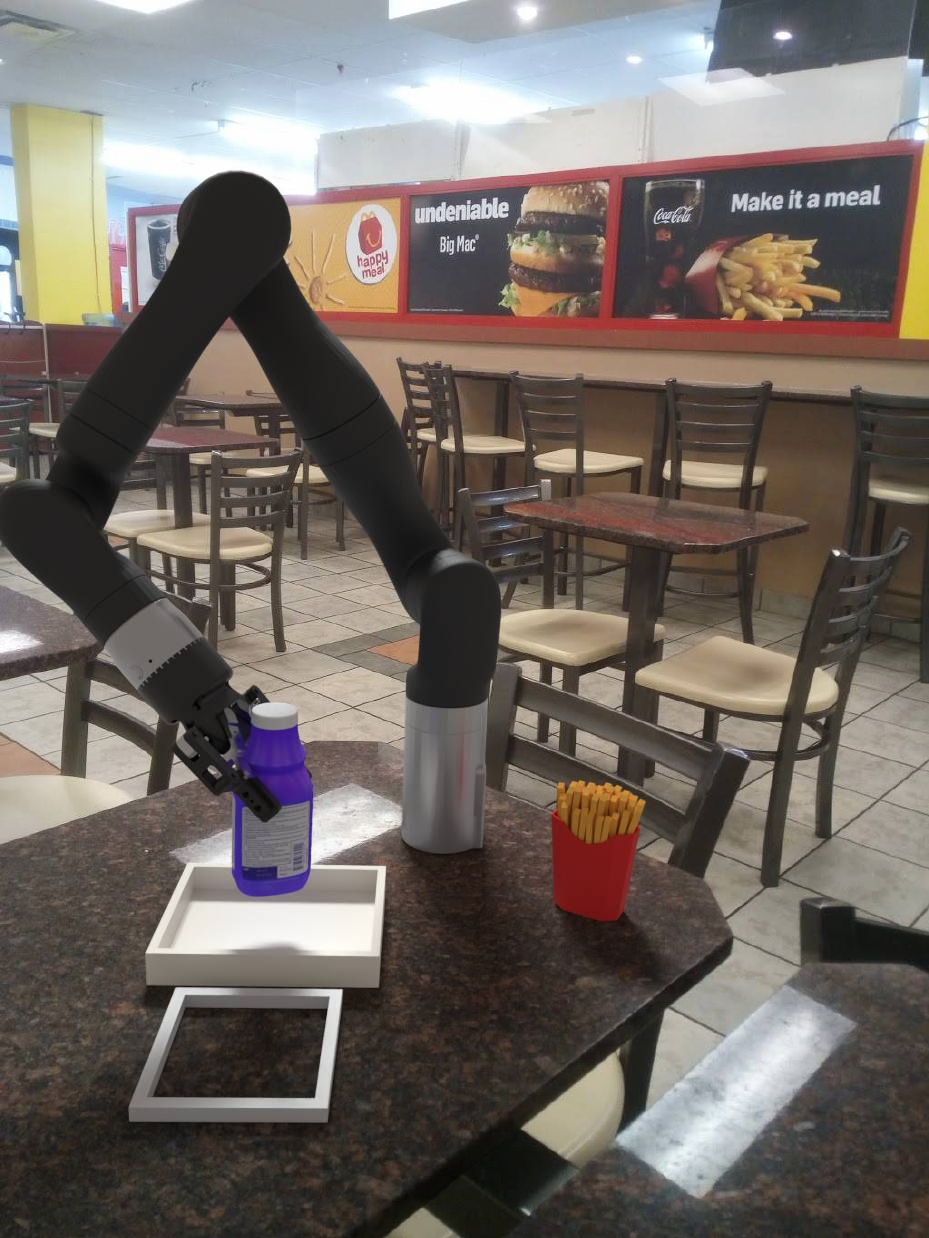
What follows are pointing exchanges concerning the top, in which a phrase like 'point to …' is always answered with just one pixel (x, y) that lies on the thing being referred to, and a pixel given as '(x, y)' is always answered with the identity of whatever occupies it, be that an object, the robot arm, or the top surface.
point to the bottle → (283, 844)
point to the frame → (238, 1108)
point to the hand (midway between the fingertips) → (289, 799)
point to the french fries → (594, 848)
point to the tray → (271, 931)
